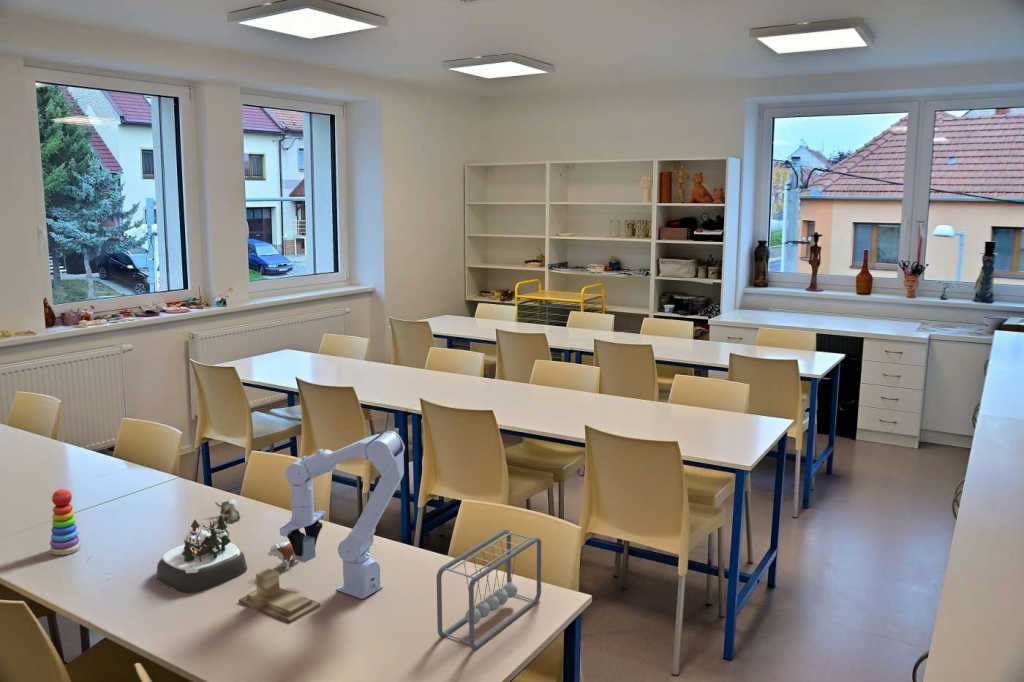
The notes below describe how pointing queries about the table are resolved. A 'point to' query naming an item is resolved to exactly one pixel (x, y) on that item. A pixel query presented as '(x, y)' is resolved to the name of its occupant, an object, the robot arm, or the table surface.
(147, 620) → the table surface
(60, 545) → the stacking toy
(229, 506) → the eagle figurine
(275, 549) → the bull figurine
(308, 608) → the plinth
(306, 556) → the slate block
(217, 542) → the miniature diorama
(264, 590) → the brass block
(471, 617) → the newton's cradle
